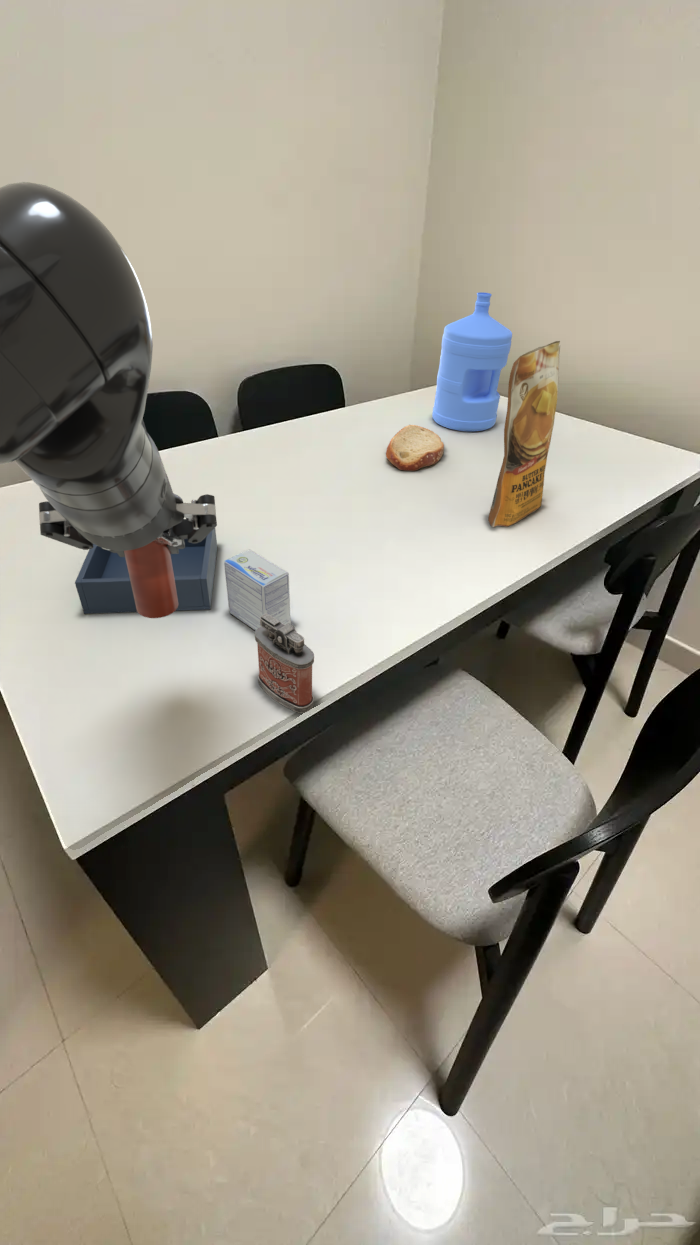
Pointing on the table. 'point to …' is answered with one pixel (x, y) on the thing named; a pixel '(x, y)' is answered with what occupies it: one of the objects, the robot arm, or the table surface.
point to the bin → (110, 585)
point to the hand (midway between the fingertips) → (149, 545)
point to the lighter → (284, 664)
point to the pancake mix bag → (526, 435)
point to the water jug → (471, 370)
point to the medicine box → (256, 589)
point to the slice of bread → (414, 448)
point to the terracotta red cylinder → (152, 580)
